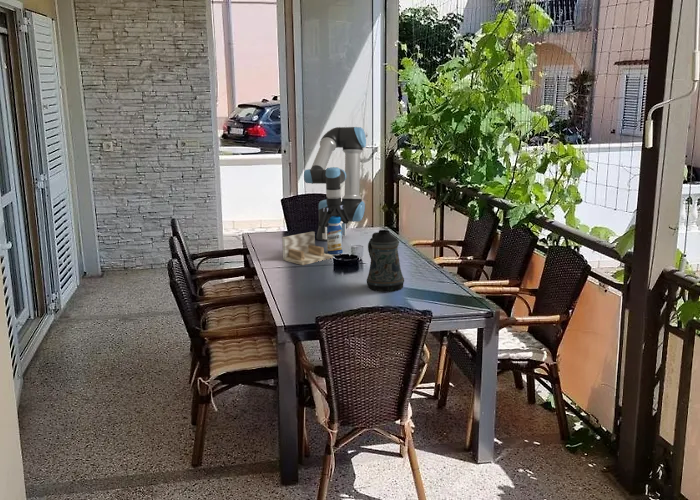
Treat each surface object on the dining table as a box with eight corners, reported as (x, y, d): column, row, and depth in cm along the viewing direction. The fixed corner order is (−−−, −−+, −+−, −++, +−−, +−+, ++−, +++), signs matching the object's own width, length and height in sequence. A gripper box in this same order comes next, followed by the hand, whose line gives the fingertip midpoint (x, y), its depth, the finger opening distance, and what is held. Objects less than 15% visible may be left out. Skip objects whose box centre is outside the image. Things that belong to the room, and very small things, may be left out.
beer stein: (392, 294, 290) (392, 236, 285) (354, 288, 300) (352, 232, 295) (410, 284, 304) (410, 229, 298) (372, 279, 314) (372, 225, 308)
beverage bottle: (345, 252, 366) (344, 216, 362) (338, 256, 359) (337, 218, 354) (331, 251, 370) (330, 215, 365) (324, 255, 362) (323, 217, 358)
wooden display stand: (312, 253, 367) (312, 231, 364) (332, 258, 355) (332, 235, 353) (283, 260, 354) (282, 237, 351) (302, 265, 342) (301, 241, 340)
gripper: (346, 194, 368) (347, 232, 373) (310, 199, 352) (311, 239, 357) (355, 195, 363) (356, 234, 368) (319, 200, 347) (321, 241, 351)
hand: (334, 237), depth 362 cm, fingers open, 13 cm apart
